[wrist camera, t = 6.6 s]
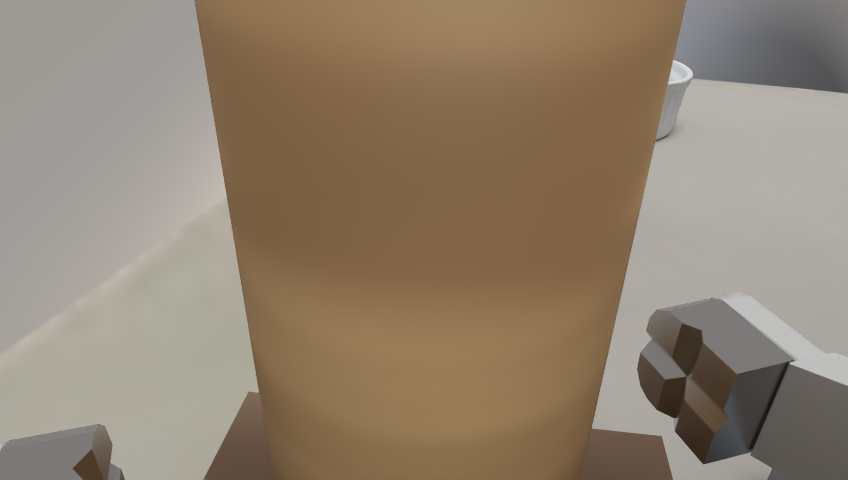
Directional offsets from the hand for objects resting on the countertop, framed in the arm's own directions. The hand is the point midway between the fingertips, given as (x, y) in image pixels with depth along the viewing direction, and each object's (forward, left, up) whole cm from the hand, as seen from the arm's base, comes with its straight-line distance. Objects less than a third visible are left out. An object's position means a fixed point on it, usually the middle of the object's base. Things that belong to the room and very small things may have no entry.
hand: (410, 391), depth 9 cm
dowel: (+1, 0, -9) cm, 9 cm away
